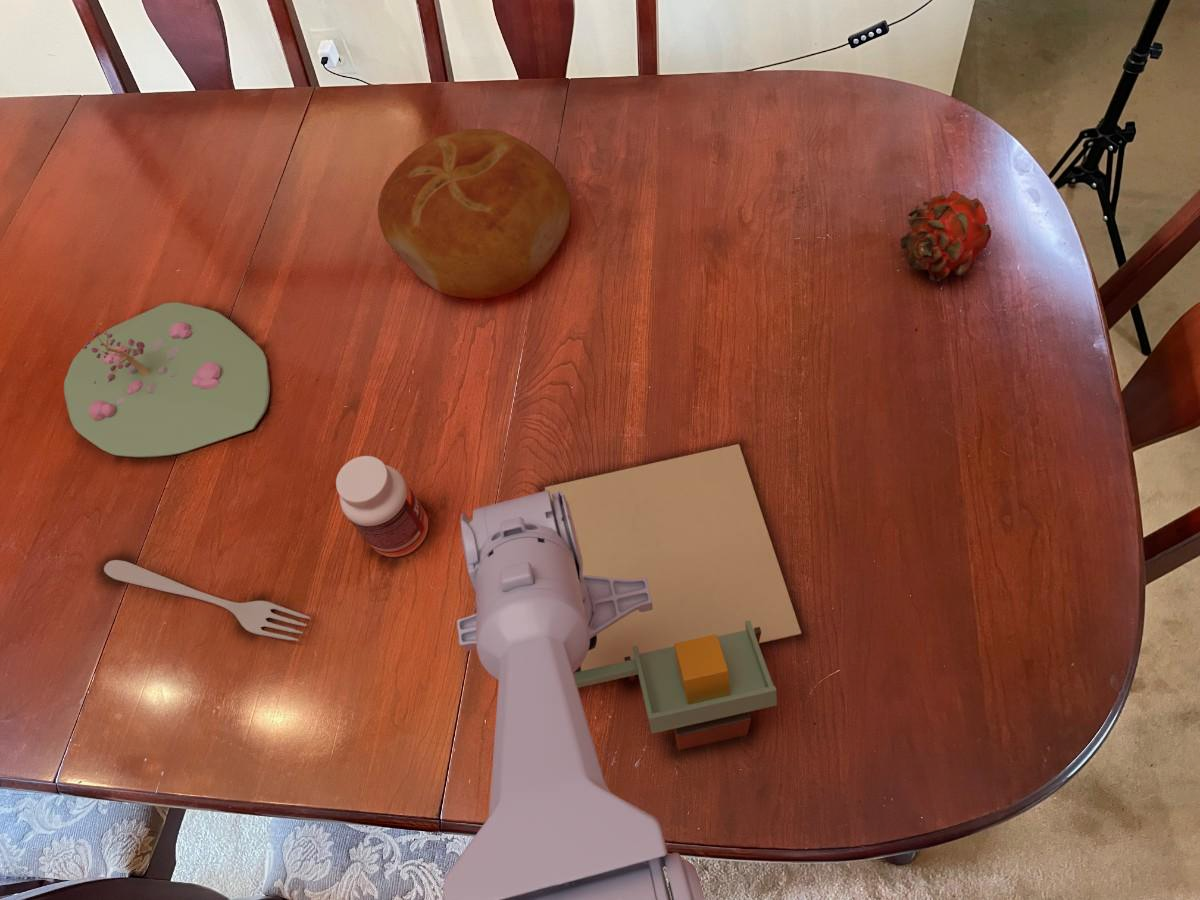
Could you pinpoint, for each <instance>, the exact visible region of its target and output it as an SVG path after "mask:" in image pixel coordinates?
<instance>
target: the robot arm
mask: <svg viewBox="0 0 1200 900" xmlns="http://www.w3.org/2000/svg"><path fill="white" fill-rule="evenodd" d="M552 497H553V499H552V498H551V495H550V492H549V490H547V491H545V490H542V491H538V492H535V493H530V494H528V495H523V496H520V497H516V498H512V499H507V500H504V501H500V502H495V503H492V504H489V505H484V506H481V507H476V508H474V509H473V510H472V520H470V518H469V517H468V515H467V514H466V513H464V512H463V513H461V515H460V533H461V534H460V535H461V536H460V537H461V545H462V550H463V556H464V560H465V564H466V567H467V573H468V575H469V579H470V581H471V585H472V587H473V590H474V593H475V613H473V614H471V615H468V616H465V617H462V618H457V620H456V628H457V634H458V635H457V636H458V645H459V646H460V647H461V648H462V649H463V651H465V652H466V653H467V652H470V651H475V650H476V653H477V656H478V659H479V661H480V663H481V665H482V667H483V668H484V670H485V671H486V672H487V673H488V675H489V676H490V677H492V678H493V679H495V680H496V681H498V687H497V702H496V715H495V728H494V741H493V753H492V755H493V756H492V767H491V768H492V769H491V781H490V795H489V808H488V817H487V819H486V821H485V822H484V823H483V825H482V826H481V827H480V828H479V829H478V831H477V833H476V834H475V835H474V837H472V840H471V841H470V842H469V843H468V844H467V846H466V847H465V848H464V850H463V851H462V853H461V854H460V855H459V857H458V858H457V860H456V861H455V862H454V863H453V865H452V866H451V867H450V869H449V870H448V872H447V873H446V875H445V877H444V880H443V884H442V893H443V894H442V896H443V897H442V900H706V898H705V895H704V890H703V888H702V884H701V881H700V878H699V873H698V871H697V868H696V866H695V865H694V864H693V863H691V862H690V861H688V860H687V859H683V858H682V856H681V854H680V853H679V852H671V853H669V851H668V848H667V844H666V840H665V836H664V832H663V829H662V825H661V824H660V821H659V820H658V818H657V817H656V816H654V815H653V814H651V813H649V812H647V811H645V810H644V809H641V808H640V807H638V806H636V805H635V804H632V803H631V802H629V801H627V800H625V799H623V798H621V797H619V796H617V795H616V794H614V793H613V792H612V791H611V790H610V789H609V787H608V786H607V783H606V780H605V777H604V774H603V771H602V767H601V764H600V760H599V757H598V754H597V751H596V747H595V744H594V739H593V736H592V734H591V730H590V729H591V728H590V726H589V723H588V719H587V716H586V712H585V709H584V705H583V702H582V699H581V695H580V692H579V688H577V685H576V681H575V678H574V675H573V673H574V672H575V671H576V670H577V669H578V668H579V666H580V665H581V664H582V662H583V661H584V659H585V657H586V655H587V652H588V651H589V650H591V649H593V648H595V646H596V642H597V634H598V633H600V632H602V631H603V630H605V629H606V628H608V627H609V626H611V625H613V624H614V623H616V622H617V621H619V620H621V619H622V618H624V617H625V616H627V615H629V614H630V613H632V612H634V611H636V610H639V611H640V612H645V611H650V610H653V605H652V599H651V595H650V591H649V586H648V582H647V578H640V579H632V580H626V579H615V578H606V577H598V576H589V575H583V559H582V554H581V550H580V546H579V542H578V538H577V534H576V530H575V526H574V522H573V518H572V515H571V511H570V507H569V504H568V502H567V500H566V498H565V496H564V495H563V494H562V492H561V490H559V492H558V493H554V494H552ZM664 868H666V872H667V876H668V877H667V878H668V880H669V881H667V878H666V876H665V875H666V874H665V871H664ZM667 882H668V883H667Z"/></svg>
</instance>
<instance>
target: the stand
mask: <svg viewBox="0 0 1200 900" xmlns="http://www.w3.org/2000/svg"><path fill="white" fill-rule="evenodd" d="M754 633H755V636H756V638H757V641H758V644H759V641H760V636H761V629H760V627H756V628H754ZM759 645H760V644H759ZM624 660H625V661H628V660H631V659H630V656H628V657H624ZM635 676H636V675H633V676H628V679H629V682H635V681H636V677H635ZM751 722H752V716H751V713H750V712H746V713H741V714H737V715H732V716H728V717H724V718H719V719H715V720H710V721H706V722H701V723H697V724H693V725H688V726H684V727H679V728H675V729H674V736H675V742H676V747H677V750H678V751H683V750H686V749H690V748H697V747H700V746H704V745H709V744H713V743H716V742H717V743H718V742H722V741H726V740H730V739H735V738H739V737H742V736H747V735H748V732H749V729H750V726H751Z"/></svg>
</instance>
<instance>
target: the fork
mask: <svg viewBox="0 0 1200 900" xmlns="http://www.w3.org/2000/svg"><path fill="white" fill-rule="evenodd" d="M103 571H104V573H105V574H106V575H107V576H108V577H110V578H112V579H113V580H116V581H120V582H123V583H127V584H130V585H131V584H132V585H136V586H140V587H144V588H147V589H151V590H156V591H160V592H164V593H170V594H173V595H174V594H175V595H179V596H184V597H189V598H193V599H197V600H200V601H203V602H207V603H211V604H214V605H217V606H220V607H221V608H223V609H226V610H227V611H229V612H230V613H232V614H233V615H234V617H236V619H237V621H238V622H239V624H240V625H241V627H242V628H244V630H246V631H247V632H249V633H251V634H255V635H259V636H263V637H264V636H265V637H270V638H275V639H281V640H285V641H286V640H287V641H295V642H298V641H299V638H296V637H293V636H290V635H286V634H282V633H277V632H272V631H268V630H267V631H266V630H265V629H264V630H263V629H262V628H264V627H265V628H271V629H275V630H279V631H284V632H289V633H294V634H300V635H302V634H303V631H301V630H298V629H296V628H292V627H289V626H285V625H282V624H278V623H274V622H271V621H268V620H267V619H273V620H276V621H280V622H285V623H288V624H292V625H296V626H301V627H307V626H308V624H306V623H304V622H301V621H299V620H297V619H293V618H289V617H286V616H283V615H281V614H277V613H274V612H272V610H275V611H279V612H282V613H285V614H288V615H292V616H294V617H297V618H303V619H307V620H310V619H311V616H309V615H306V614H303V613H301V612H299V611H295V610H293V609H290V608H287V607H284V606H281V605H279V604H277V603H273V602H271V601H268V600H253V601H247V602H237V601H236V602H235V601H230V600H227V599H223V598H221V597H217V596H215V595H211V594H208V593H205V592H202V591H200V590H197V589H195V588H192V587H190V586H187V585H185V584H182V583H181V582H179V581H178V582H177V581H175V580H173V579H170V578H168V577H166V576H163V575H161V574H158V573H156V572H153V571H150V570H149V569H146V568H144V567H142V566H139V565H137V564H134V563H132V562H129V561H126V560H121V559H120V560H119V559H114V560H113V559H112V560H110V561H107V563H105V565H104V567H103Z"/></svg>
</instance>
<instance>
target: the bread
mask: <svg viewBox="0 0 1200 900" xmlns="http://www.w3.org/2000/svg"><path fill="white" fill-rule="evenodd" d="M571 211H572V202H571V196H570V192H569V189H568V185H567V183H566V181H565V179H564V177H563V176H562V174H561V172H560V171H559V170H558V169H557V167H556V166H555V165H554V164H553V163H552V162H551V161H550V159H548V158H547V157H546V156H545V155H544V154H543V153H541V152H540V151H539V150H538V149H536V148H535V147H534V146H532V145H530V144H528V143H527V142H525V141H524V140H522V139H521V138H518V137H517V136H514V135H512V134H509V133H507V132H505V131H502V130H499V129H492V128H466V129H461V130H458V131H454V132H451V133H447V134H443V135H440V136H437V137H435V138H433V139H431V140H429V141H427V142H425V143H423V144H422V145H420V146H419V147H417V148H415V150H413V151H411V153H410V154H408V155H407V156H406V157H405V158H404V159H403V160H402V161H401V162H400V163H398V165H397V166H396V167H395V168H394V170H393V171H392V172H391V173H390V175H389V176H388V178H387V180H386V181H385V183H384V185H383V187H382V188H381V191H380V193H379V196H378V203H377V217H378V223H379V227H380V229H381V233H382V235H383V238H384V240H385V241H386V243H388V245H389V246H390V248H391V249H393V251H394V252H395V253H396V254H397V255H398V257H400V258H401V259H402V261H403V262H404V263H405V264H406V266H408V267H409V268H410V269H411V270H412V272H413V273H414V274H415V275H416V276H417V277H418V278H419V279H420V280H422V281H423V282H424V283H425V284H427V285H428V286H429V287H431V288H432V289H434V290H435V291H437V292H439V293H441V294H444V295H447V296H451V297H455V298H456V297H457V298H465V299H475V300H476V299H477V300H478V299H490V298H494V297H497V296H498V297H499V296H501V295H505V294H508V293H512V292H513V291H516V290H517V289H519V288H521V287H523V286H524V285H526V284H528V283H530V281H531V280H533V279H534V278H535V277H536V276H537V275H538V274H539V273H540V272H541V271H542V269H543V268H544V267H545V266H546V265H547V264H548V263H549V261H550V260H551V258H553V256H554V255H555V253H556V251H557V250H558V248H559V246H560V245H561V243H562V242H563V239H564V237H565V235H566V233H567V231H568V228H569V225H570V221H571V213H572V212H571Z"/></svg>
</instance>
